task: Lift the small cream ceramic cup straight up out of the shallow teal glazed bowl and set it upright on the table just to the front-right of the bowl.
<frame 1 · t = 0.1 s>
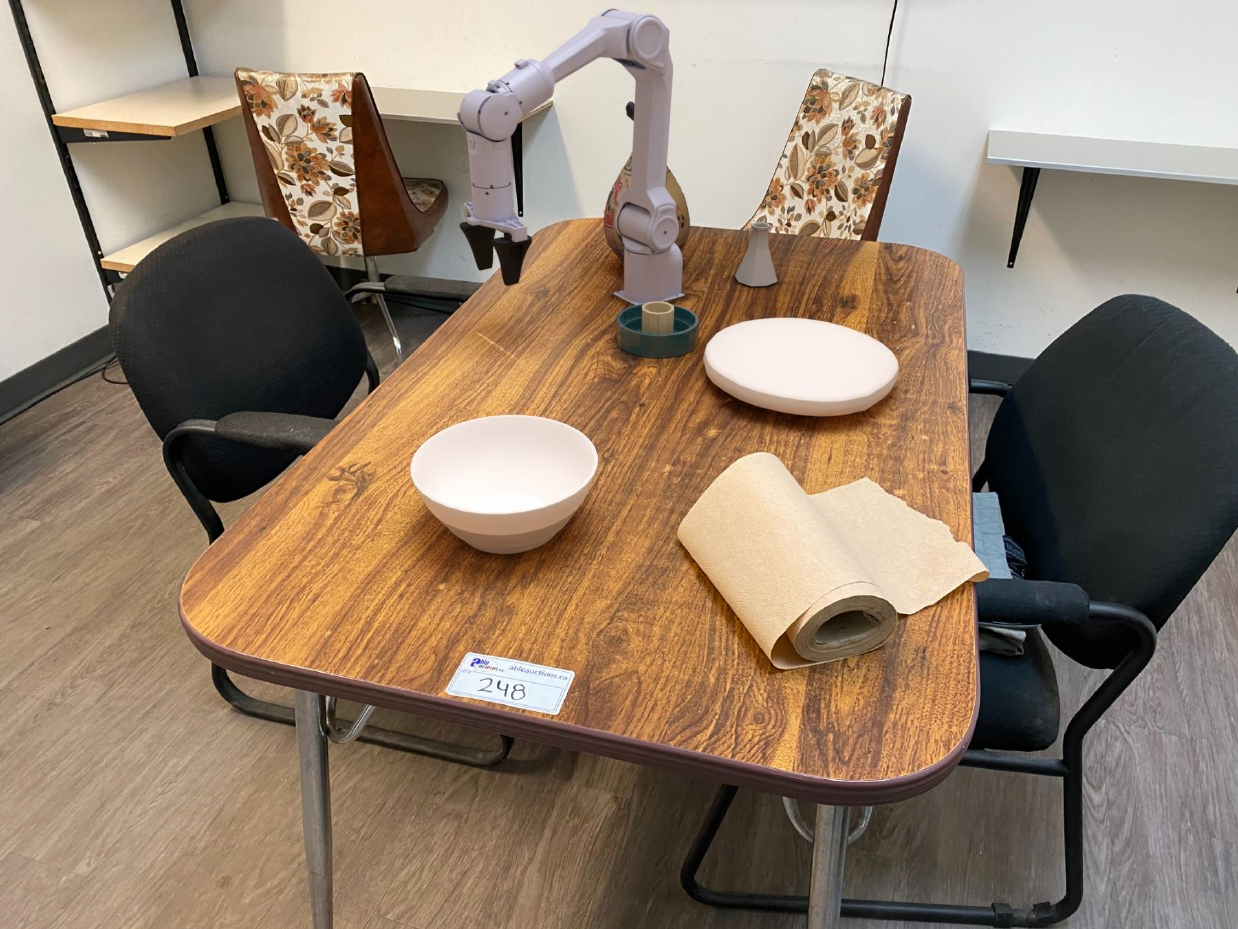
hand: (498, 276, 134), 10 cm above the table, tool pointing down, fingers open, 7 cm apart
flask: (755, 281, 162), on the table
ceramic jug: (646, 269, 166), on the table
bowl: (509, 525, 99), on the table
cup: (656, 340, 138), point 1 cm above the table, touching teal bowl
plate: (797, 383, 128), on the table
teal bowl: (656, 344, 139), on the table
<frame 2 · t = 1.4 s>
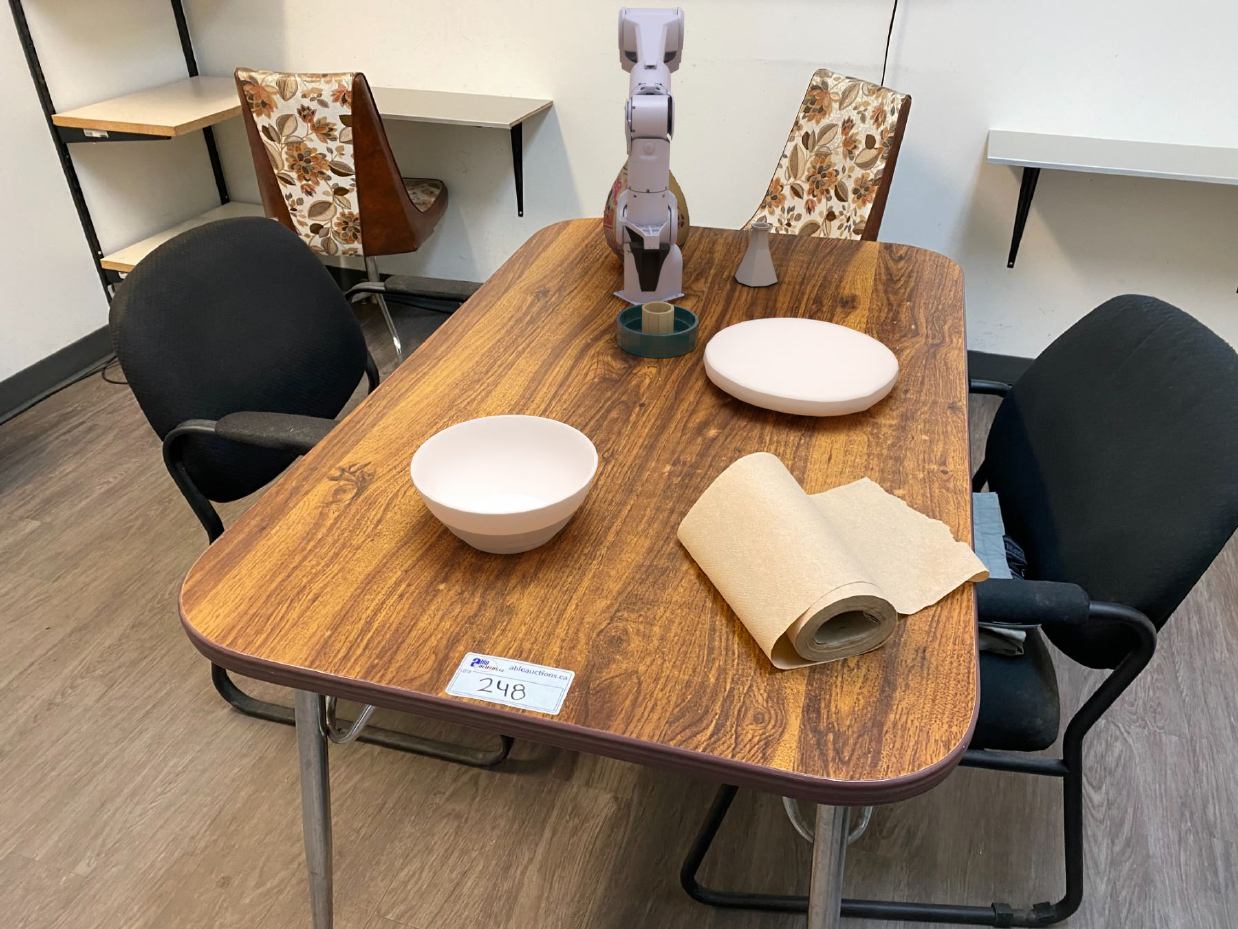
hand: (645, 281, 133), 10 cm above the table, tool pointing down, fingers open, 7 cm apart
nothing on the table moved.
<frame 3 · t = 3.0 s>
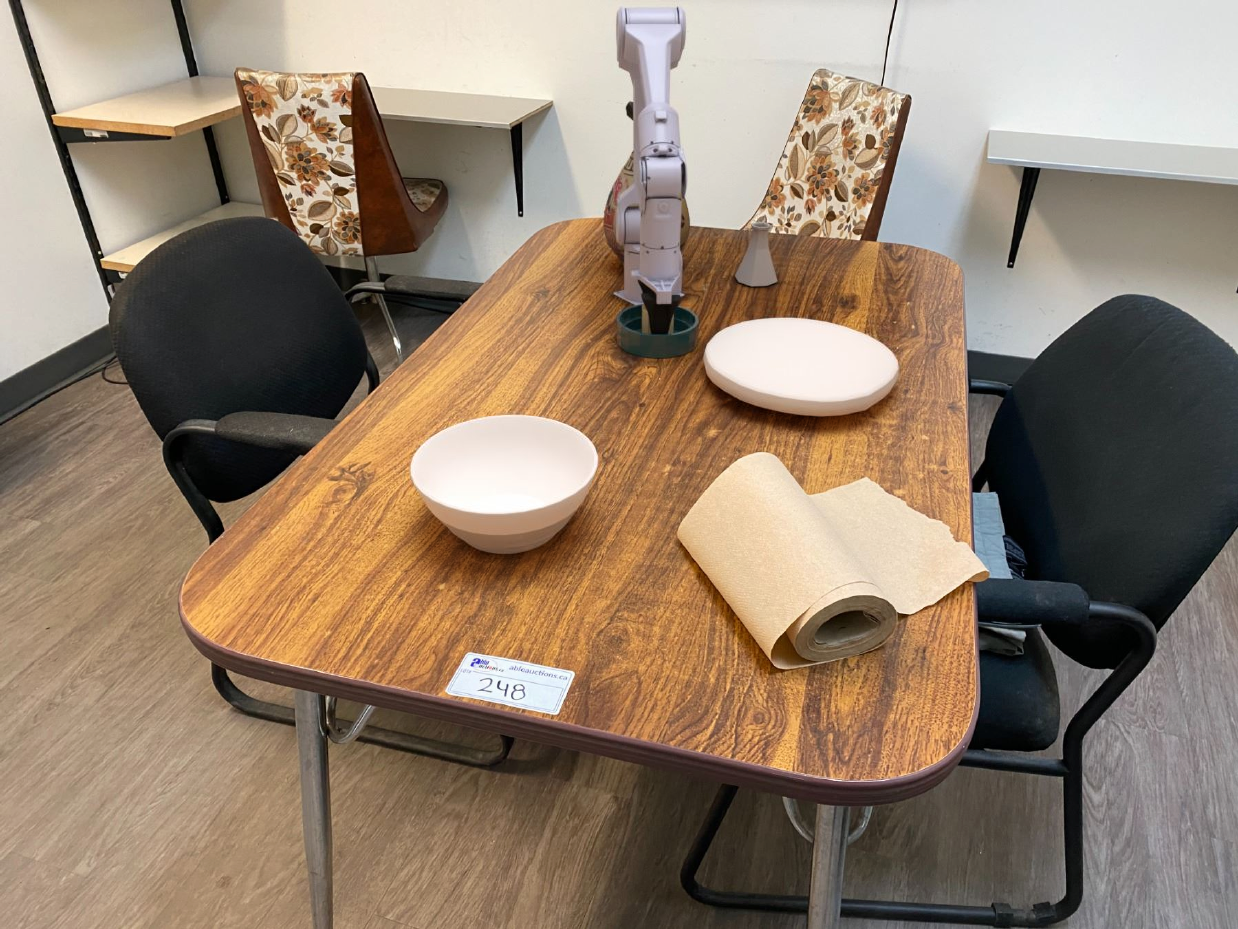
hand: (657, 330, 137), 2 cm above the table, tool pointing down, fingers closed on cup, 5 cm apart
cup: (656, 340, 138), point 1 cm above the table, touching gripper, teal bowl
everything else where it was.
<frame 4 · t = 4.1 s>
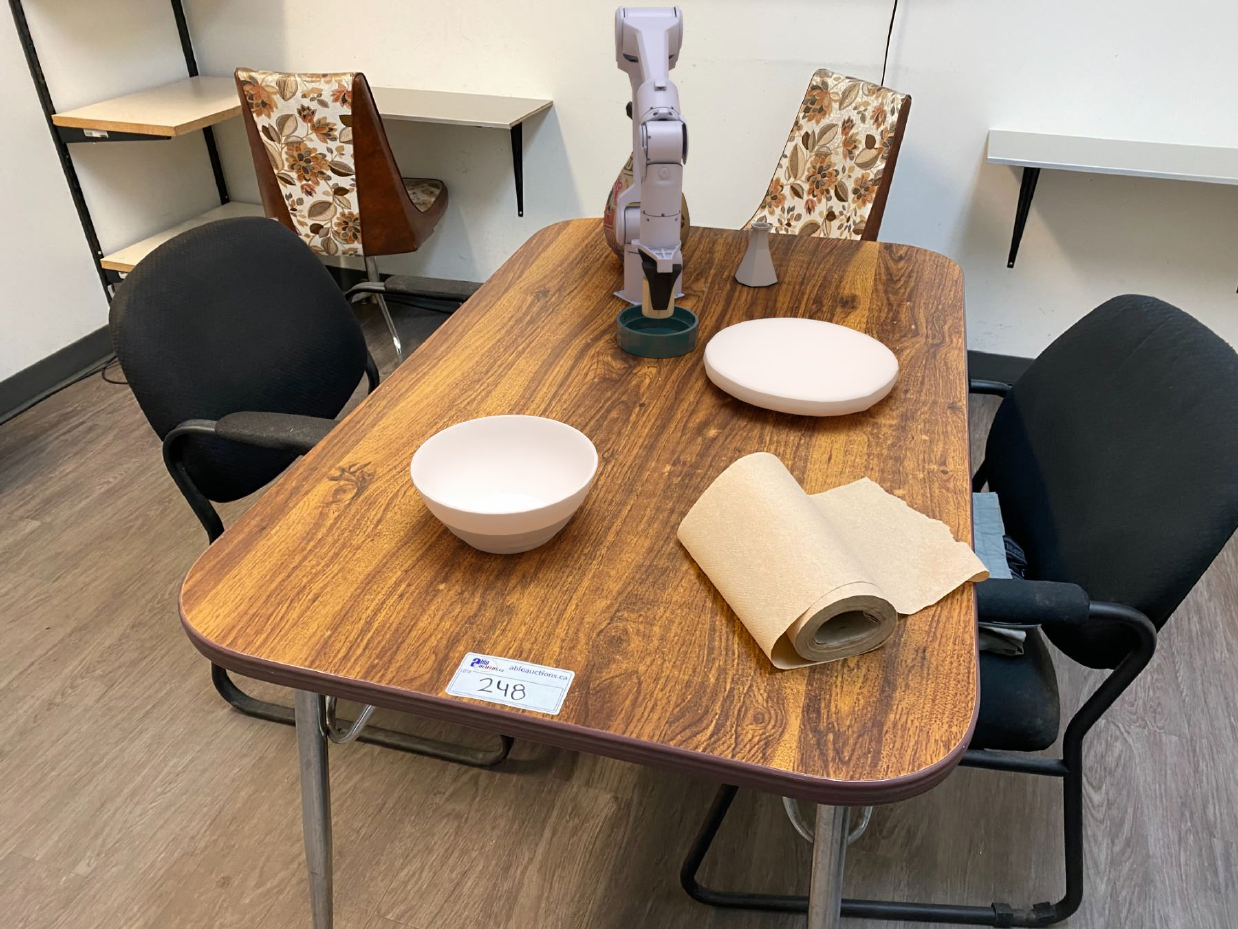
hand: (657, 301, 135), 7 cm above the table, tool pointing down, fingers closed on cup, 5 cm apart
cup: (657, 312, 136), point 5 cm above the table, touching gripper
everything else where it was.
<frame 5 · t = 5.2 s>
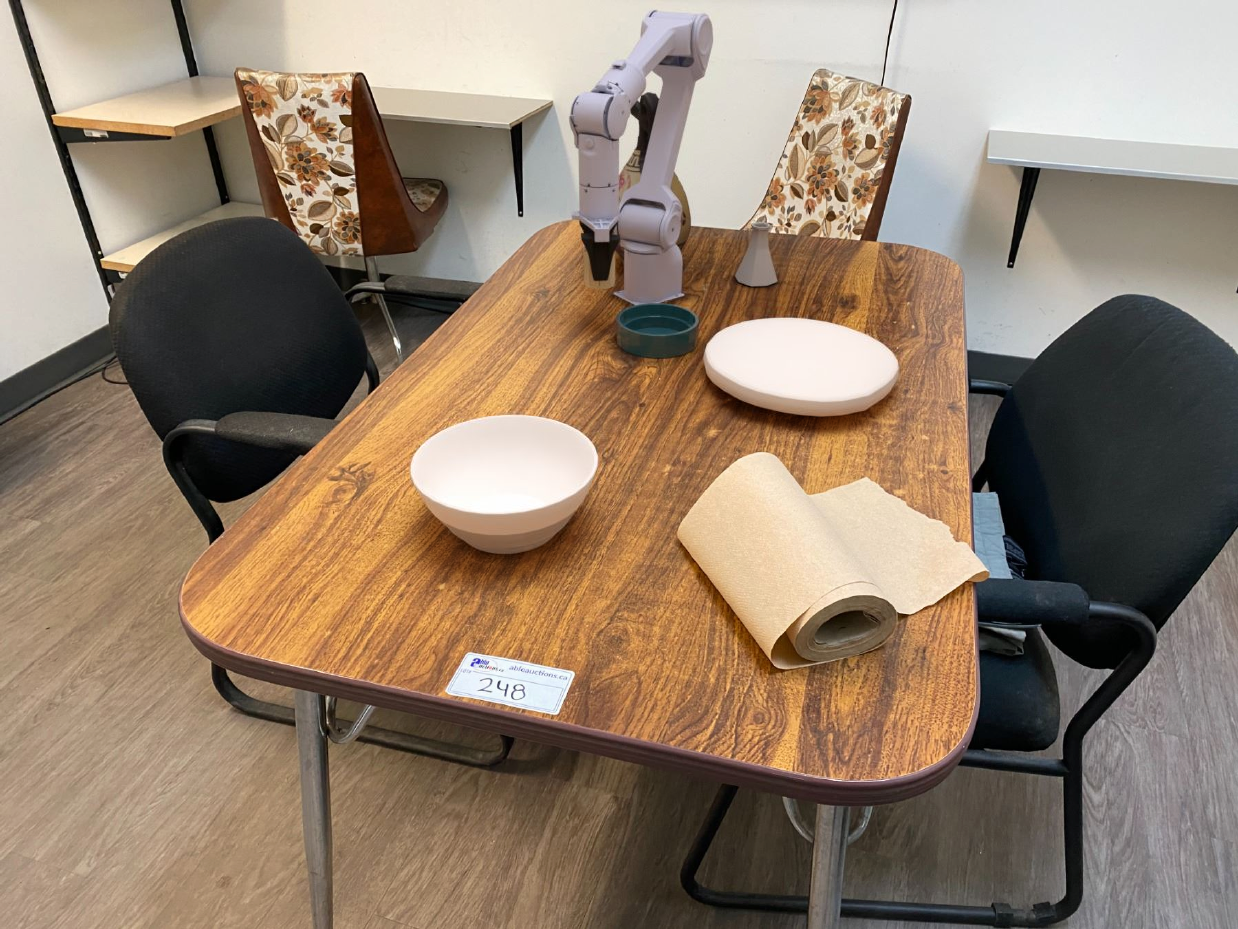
hand: (599, 273, 138), 9 cm above the table, tool pointing down, fingers closed on cup, 5 cm apart
ceramic jug: (646, 267, 166), on the table, touching arm
cup: (599, 283, 138), point 8 cm above the table, touching gripper
everything else where it was.
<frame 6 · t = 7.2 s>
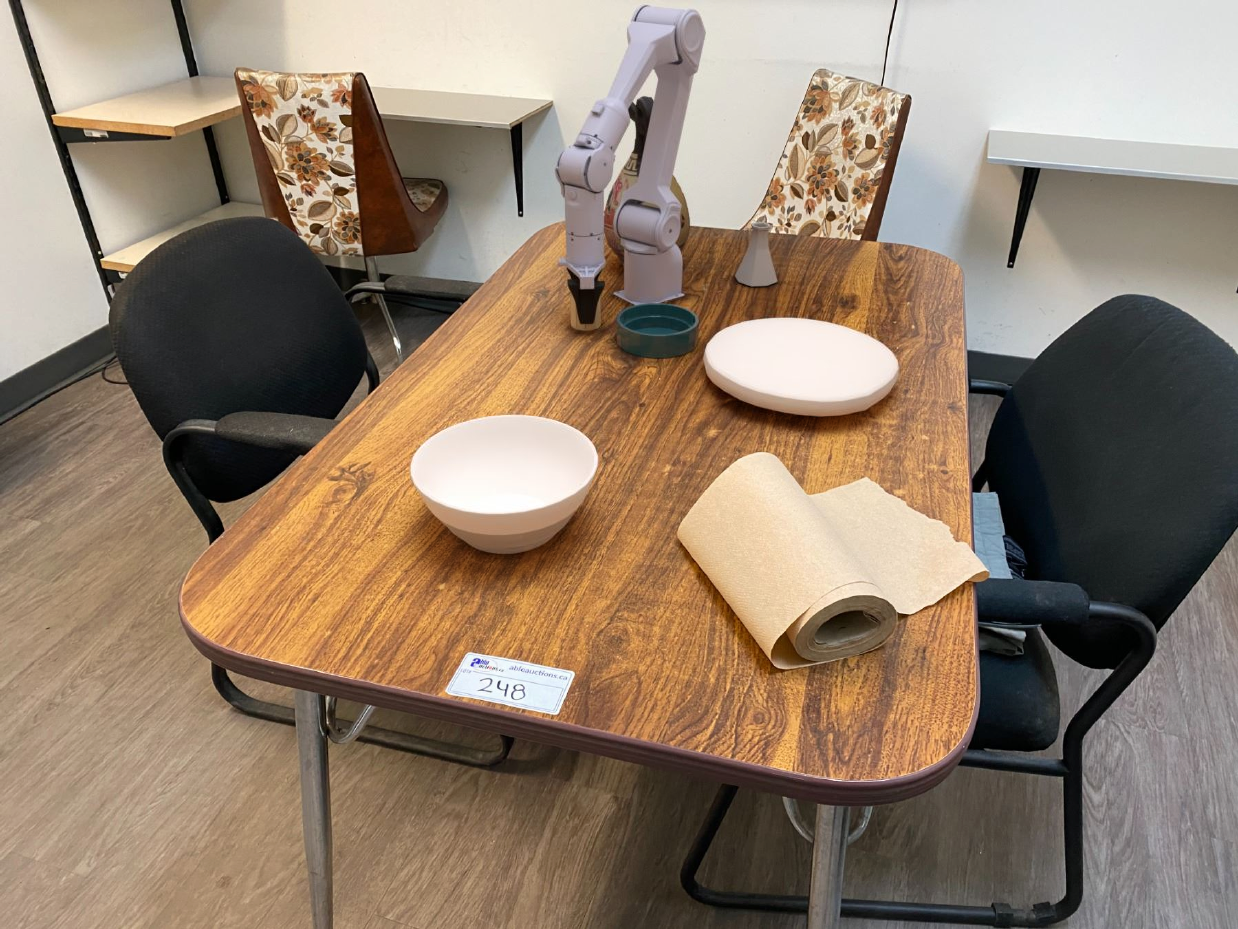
hand: (586, 316, 143), 2 cm above the table, tool pointing down, fingers closed on cup, 5 cm apart
ceramic jug: (646, 269, 166), on the table
cup: (585, 325, 143), on the table, touching gripper
everything else where it was.
when the fingers open (2 cm above the table, at t = 7.8 s): cup stays where it is, on the table.
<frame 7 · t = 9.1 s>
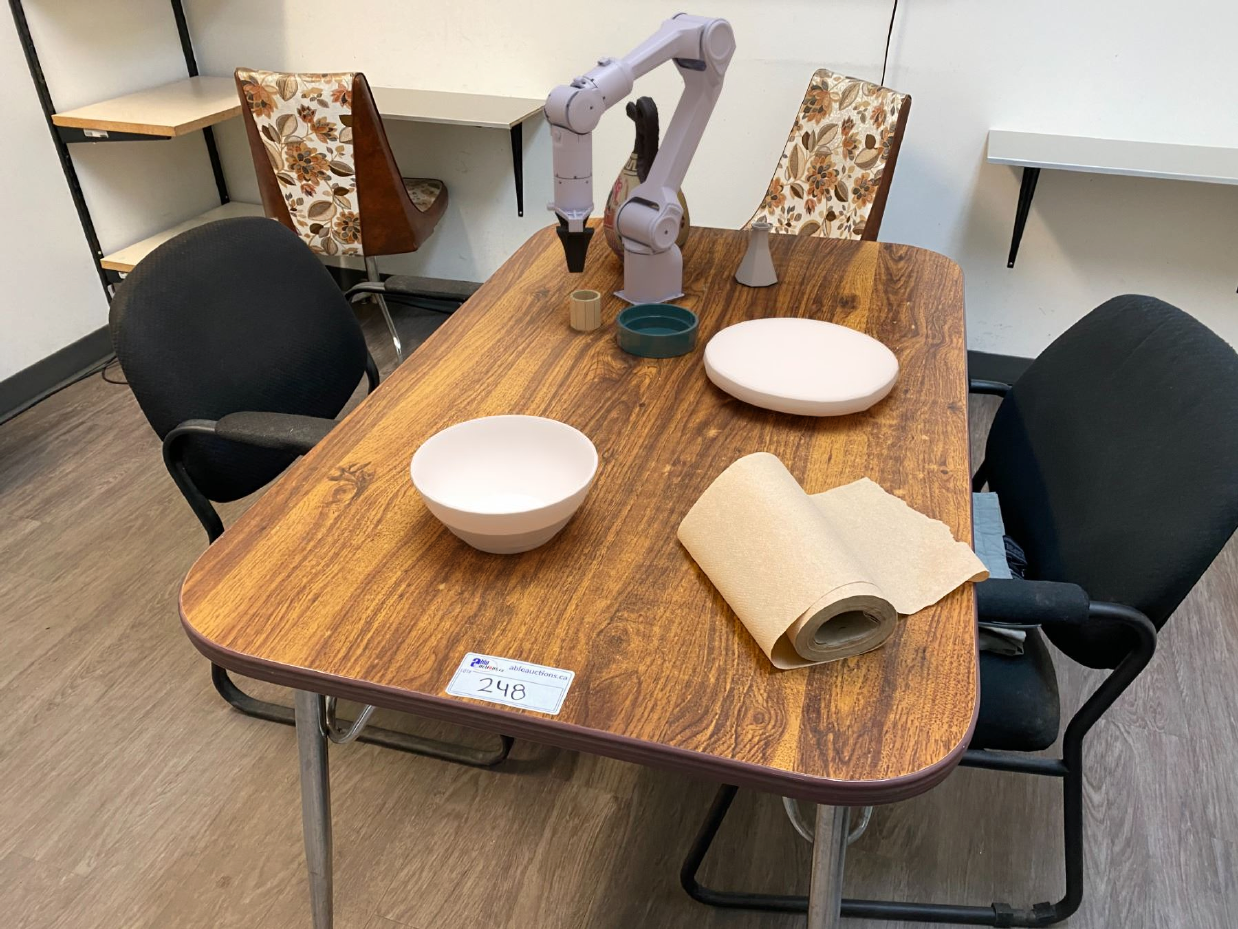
hand: (575, 263, 141), 9 cm above the table, tool pointing down, fingers open, 7 cm apart
cup: (585, 327, 144), on the table
everything else where it was.
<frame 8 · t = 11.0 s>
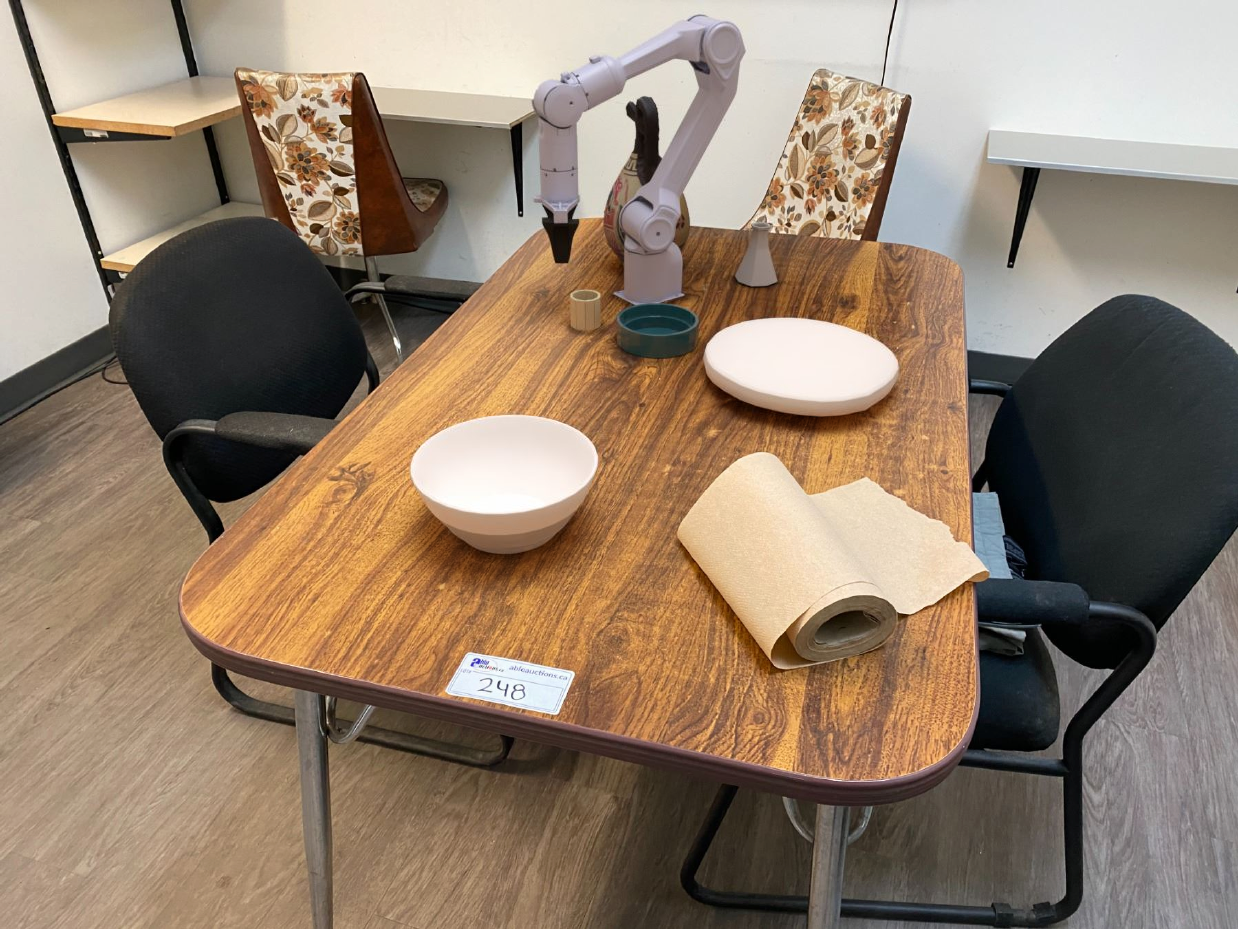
hand: (561, 254, 145), 9 cm above the table, tool pointing down, fingers open, 7 cm apart
nothing on the table moved.
at the end: cup inside the target area (0.1 cm from its centre), on the table; cup tilted 0°; cup touching table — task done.
